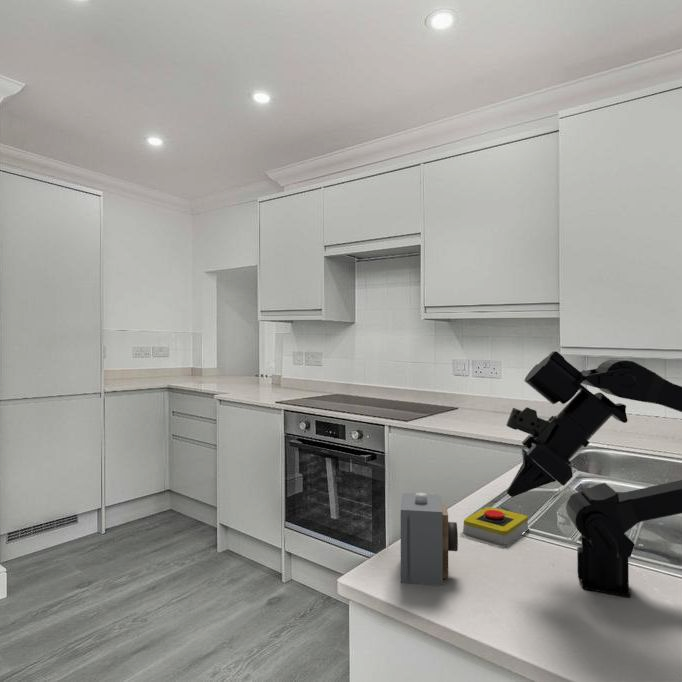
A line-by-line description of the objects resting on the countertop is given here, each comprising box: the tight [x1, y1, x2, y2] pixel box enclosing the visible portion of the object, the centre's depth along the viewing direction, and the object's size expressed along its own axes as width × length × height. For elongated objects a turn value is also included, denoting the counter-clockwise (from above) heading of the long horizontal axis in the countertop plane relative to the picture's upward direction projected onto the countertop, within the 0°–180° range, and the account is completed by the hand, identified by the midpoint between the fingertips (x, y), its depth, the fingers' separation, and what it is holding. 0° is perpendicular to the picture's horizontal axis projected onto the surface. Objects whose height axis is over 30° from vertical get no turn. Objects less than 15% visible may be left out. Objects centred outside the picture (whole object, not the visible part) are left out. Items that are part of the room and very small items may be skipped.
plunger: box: [441, 504, 459, 579], centre depth 79 cm, size 6×5×10 cm
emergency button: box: [459, 506, 529, 549], centre depth 97 cm, size 9×4×15 cm
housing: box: [400, 492, 444, 586], centre depth 80 cm, size 6×9×13 cm
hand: (509, 494), depth 78 cm, fingers closed
